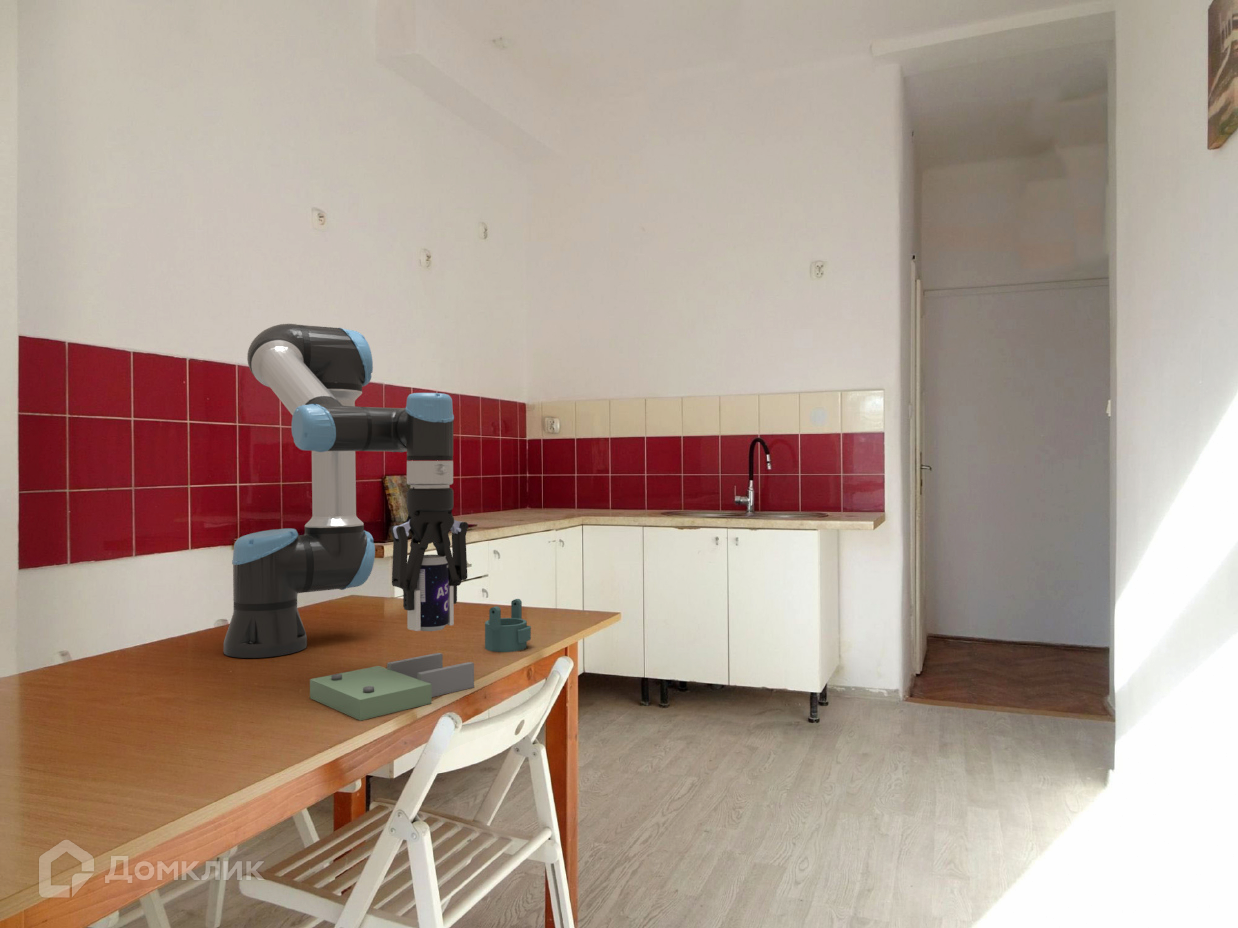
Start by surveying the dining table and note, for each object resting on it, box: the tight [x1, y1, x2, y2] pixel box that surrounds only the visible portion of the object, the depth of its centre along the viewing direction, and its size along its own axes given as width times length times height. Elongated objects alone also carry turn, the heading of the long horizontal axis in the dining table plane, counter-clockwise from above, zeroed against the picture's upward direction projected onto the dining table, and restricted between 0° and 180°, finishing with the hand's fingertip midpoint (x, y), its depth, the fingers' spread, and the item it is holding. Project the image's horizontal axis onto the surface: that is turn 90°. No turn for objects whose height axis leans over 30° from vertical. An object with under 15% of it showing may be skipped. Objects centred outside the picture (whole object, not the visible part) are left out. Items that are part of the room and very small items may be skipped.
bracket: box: [484, 598, 532, 653], centre depth 170 cm, size 9×9×9 cm
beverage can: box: [416, 554, 448, 632], centre depth 140 cm, size 6×6×12 cm
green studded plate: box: [309, 652, 475, 722], centre depth 136 cm, size 16×22×4 cm
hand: (430, 626), depth 140 cm, fingers closed on beverage can, 6 cm apart
